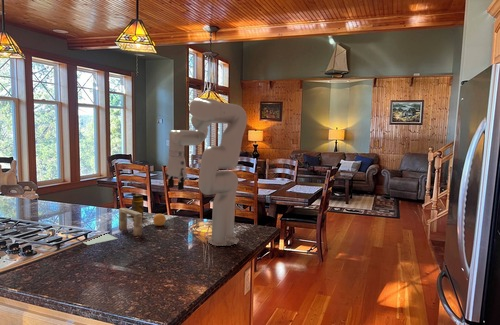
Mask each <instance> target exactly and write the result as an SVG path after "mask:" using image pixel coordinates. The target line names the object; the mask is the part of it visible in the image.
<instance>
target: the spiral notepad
mask: <svg viewBox="0 0 500 325" xmlns="http://www.w3.org/2000/svg"><path fill="white" fill-rule="evenodd" d="M118 239H119V238H118V237H115V236H113V235H112V234H109V233H107V234H105V235H102V236H100V237H98V238H95V239H92V240H90V241H87V242H83V244H84V245H86V246H91V245H95V244H100V243H107V242H109V241H110V242H111V241H115V240H118Z"/></svg>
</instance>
